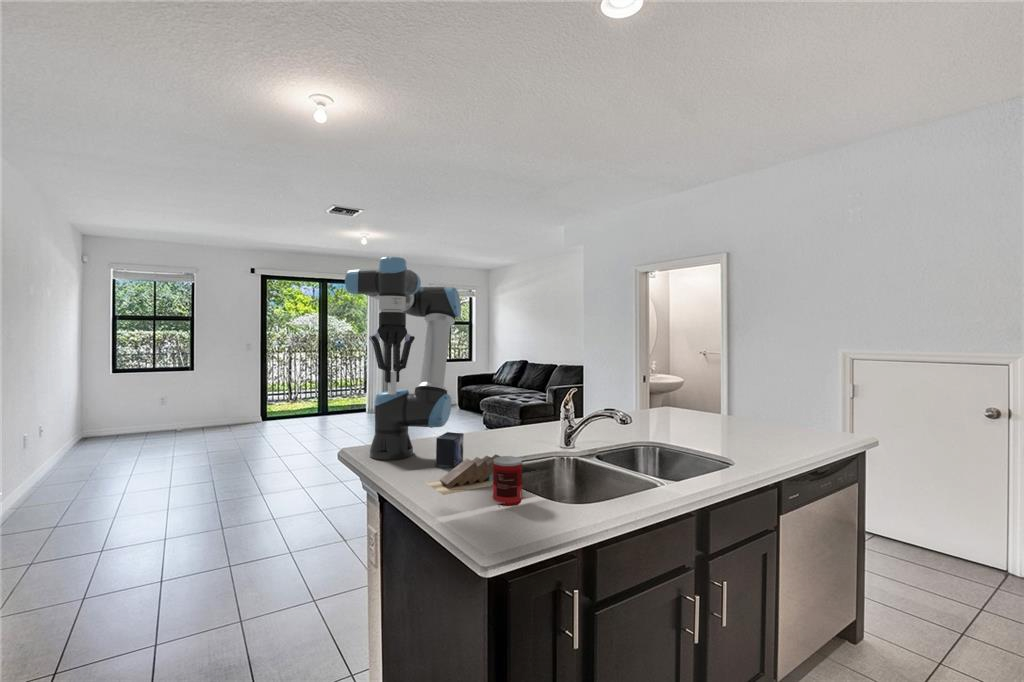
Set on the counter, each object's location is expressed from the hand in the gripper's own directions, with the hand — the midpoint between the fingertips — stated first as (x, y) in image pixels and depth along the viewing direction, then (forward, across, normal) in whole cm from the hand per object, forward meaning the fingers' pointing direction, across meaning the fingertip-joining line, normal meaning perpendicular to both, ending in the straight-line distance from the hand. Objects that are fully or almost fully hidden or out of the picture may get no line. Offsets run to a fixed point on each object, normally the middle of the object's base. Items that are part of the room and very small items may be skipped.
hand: (392, 393), depth 141 cm
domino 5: (+25, +24, -12) cm, 36 cm away
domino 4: (+25, +21, -12) cm, 34 cm away
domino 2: (+25, +14, -12) cm, 31 cm away
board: (+26, +16, -12) cm, 33 cm away
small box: (+27, +23, +9) cm, 36 cm away
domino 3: (+25, +18, -12) cm, 33 cm away
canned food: (+27, +21, -29) cm, 45 cm away
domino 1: (+25, +11, -12) cm, 30 cm away
